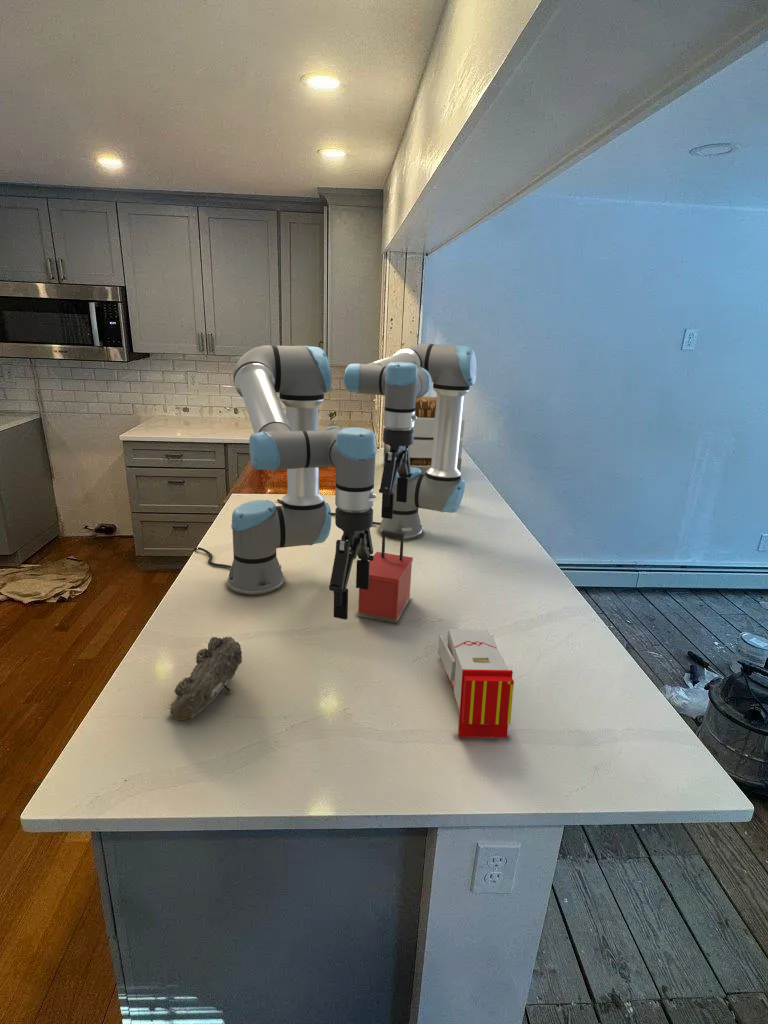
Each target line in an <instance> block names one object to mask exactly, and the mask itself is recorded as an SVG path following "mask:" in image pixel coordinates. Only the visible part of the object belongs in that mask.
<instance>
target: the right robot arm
mask: <svg viewBox="0 0 768 1024" xmlns="http://www.w3.org/2000/svg"><path fill="white" fill-rule="evenodd" d="M477 368H478V367H477V357H476V353H475V351H474V349H473V348H472V347H470V346H464V345H459V344H458V345H455V344H454V345H453V344H438V343H437V344H436V343H435V344H434V343H419V344H415V345H411V346H408V347H404V348H401V349H398V350H397V351H396V352H394V354H393V355H390V356H388V357H385V358H382V359H379V360H376V361H373V362H369V363H360V362H359V363H349V364H348V365H347V366H346V368H345V371H344V373H343V374H344V375H343V383H344V388H345V389H346V391H347V392H350V393H355V394H358V395H359V394H363V395H375V396H383V397H384V407H383V422H382V423H383V427H384V428H383V431H382V442H383V444H384V443H385V444H387V445H389V446H390V451H388V452H386V453H385V463H384V462H383V463H384V464H383V469H382V475H381V481H380V486H379V489H378V493H379V494H382V495H381V517H380V518H381V522H378V521H373V525H374V526H375V525H376V526H378V533H379V534H380V535H381V532H382V530H383V529H384V530H390V531H397V532H403V533H405V538H404V541H410V540H415V539H418V538H420V537H421V536H422V535H423V525H422V524H421V518H420V515H419V509H424V510H430V511H435V512H441V513H450V514H453V513H456V512H457V511H458V509H459V508H460V505H461V503H462V500H463V497H464V493H465V489H466V480H465V479H462V473H460V472H459V470H458V469H457V461H458V451H459V441H460V439H461V438H460V431H461V420H462V419H463V410H464V409H463V408H464V399H465V395H467V394H468V393H469V392H470V388H471V387H472V386H474V385H475V384H476V380H477V373H478V372H477V371H478V370H477ZM431 388H432V390H434V392H435V393H436V397H437V401H436V413H435V426H434V438H433V450H432V462H431V465H430V466H429V468H427V469H426V471H425V473H422V469H421V468H419V467H417V466H410V458H409V445H412V444H413V438H414V430H413V429H412V428H413V427H414V420H416V419H417V416H414V414H415V404H416V398H419V397H424V396H425V395H426V394H427V393H428V392H429V391H430V390H431ZM276 501H277V502H278V503H280V504H282V500H281V499H279V498H278V499H277V500H276ZM331 516H335V512H331ZM389 540H395V541H401V540H400V539H394V538H389Z"/></svg>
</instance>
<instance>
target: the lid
mask: <svg viewBox="0 0 768 1024" xmlns="http://www.w3.org/2000/svg"><path fill="white" fill-rule="evenodd" d="M380 535H381V551H376V552H374V554H373V556H374V560H373V561H369V560H368V562H370V564H369V579H373V580H379V581H384V582H390V583H396V584H399V582H400V581H401V579H402V577H403V576H404V574H405V573H406V571H407V569H408V568H409V566H410V565H411V563H412V564H413V562H414V561H413V560H414V557H411V556H405V555H404V541H405V540H404V538H405V533H403V532H397V531H390V530H384V529H383V530H382V532H381V534H380ZM386 538H387V539H390V538H394V539H393V540H395V539H400V540H399V543H400V544H399V554H393V553H387V552H386Z"/></svg>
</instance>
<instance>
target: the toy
mask: <svg viewBox="0 0 768 1024" xmlns="http://www.w3.org/2000/svg"><path fill="white" fill-rule="evenodd" d="M446 640H447V643H446V641H445V639H444V636H443V635H442V634H439V637H438V646H437V656H438V657H439V659H440V661H441V663H442V666H443V668H444V670H445V672H446V674H447V677H448V679H449V681H450V684H451V687H452V690H453V693H454V697H455V701H456V705H457V708H458V711H459V714H458V715H459V716H458V730H457V731H458V732H457V737H458V738H508V731H509V726H510V725H511V717H512V707H513V697H514V696H513V695H514V684H515V680H514V679H513V673H514V671H513V670H512V669H508V667H507V665H506V662H505V661H504V659H503V658H502V655H501V653H500V651H499V649H498V647H497V643H496V639H495V637H494V635H493V634H491V632H490V631H489V629H467V628H466V629H465V628H463V629H461V628H460V629H459V628H448V630H447V639H446Z"/></svg>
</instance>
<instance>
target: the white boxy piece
mask: <svg viewBox="0 0 768 1024" xmlns="http://www.w3.org/2000/svg"><path fill="white" fill-rule="evenodd" d="M436 401H437V396H422V397H419V398H416V404H415V414H414V416H417V419H416V420H414V427H413V428H412V429H413V430H414V438H413V444H412V445H409V458H410V467H417V466H418V467H431V462H432V450H433V438H434V426H435V413H436ZM464 429H465V419H464V418H462V420H461V431H460V441H459V451H458V461H457V469H458V470H459V472H460V473H461V472H462V461H463V460H462V453H463V442H464V441H463V440H462V439H463V438H464V431H465V430H464ZM388 451H390V446H389V445H387V444H385V443H384V442H383V465H384V463H385V453H386V452H388ZM461 474H462V473H461Z"/></svg>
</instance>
